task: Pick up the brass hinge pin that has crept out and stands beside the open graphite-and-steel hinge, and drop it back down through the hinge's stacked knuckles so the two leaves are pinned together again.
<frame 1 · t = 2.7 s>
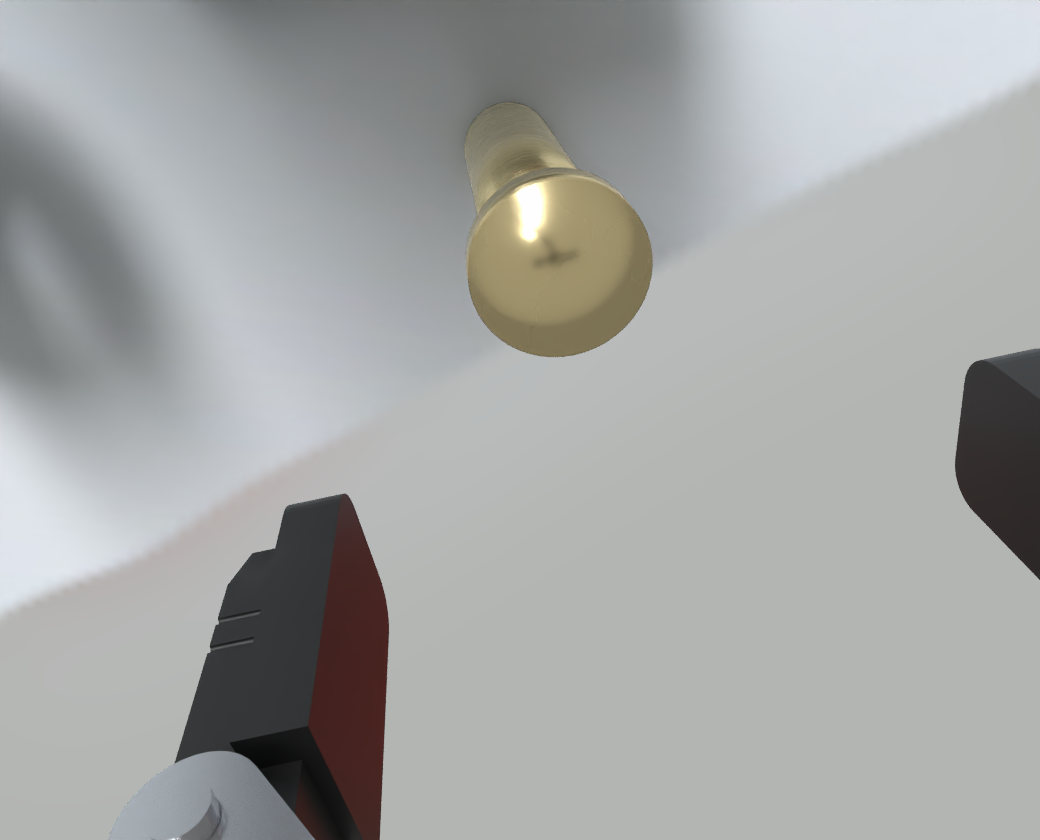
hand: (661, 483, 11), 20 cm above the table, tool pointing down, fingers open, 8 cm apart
pin: (508, 148, 28), on the table
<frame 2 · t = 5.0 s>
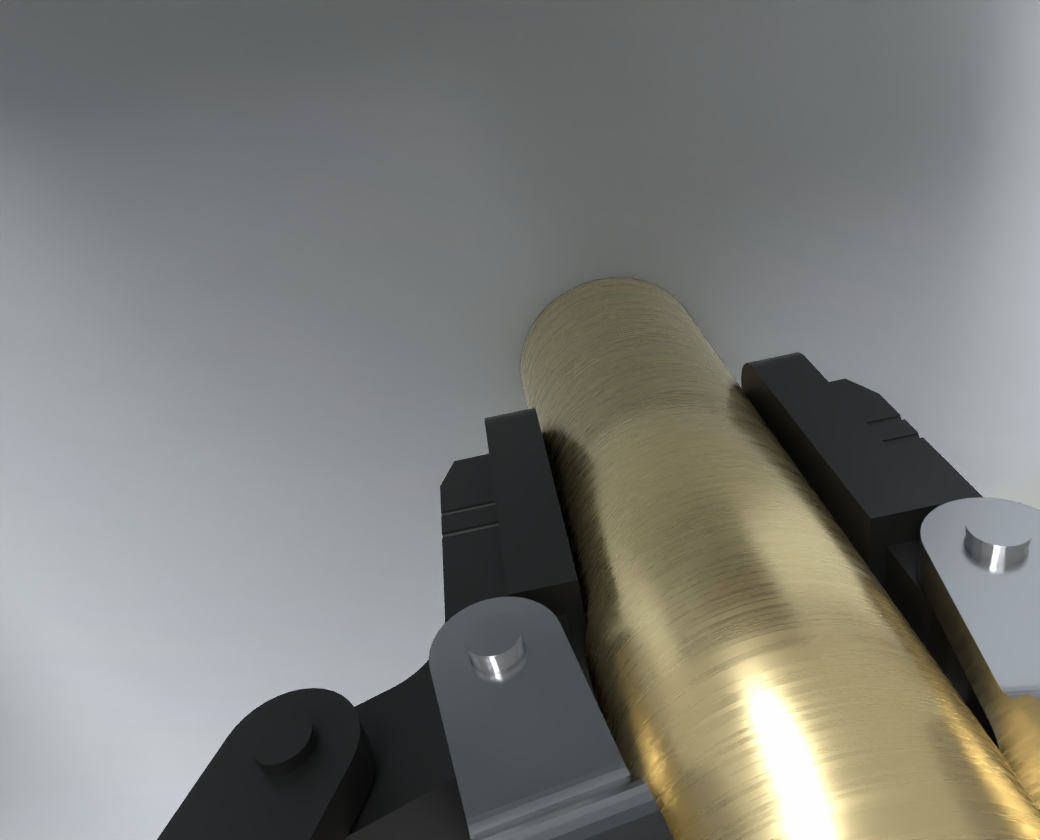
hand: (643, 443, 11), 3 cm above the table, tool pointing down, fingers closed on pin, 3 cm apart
pin: (609, 362, 14), on the table, touching gripper
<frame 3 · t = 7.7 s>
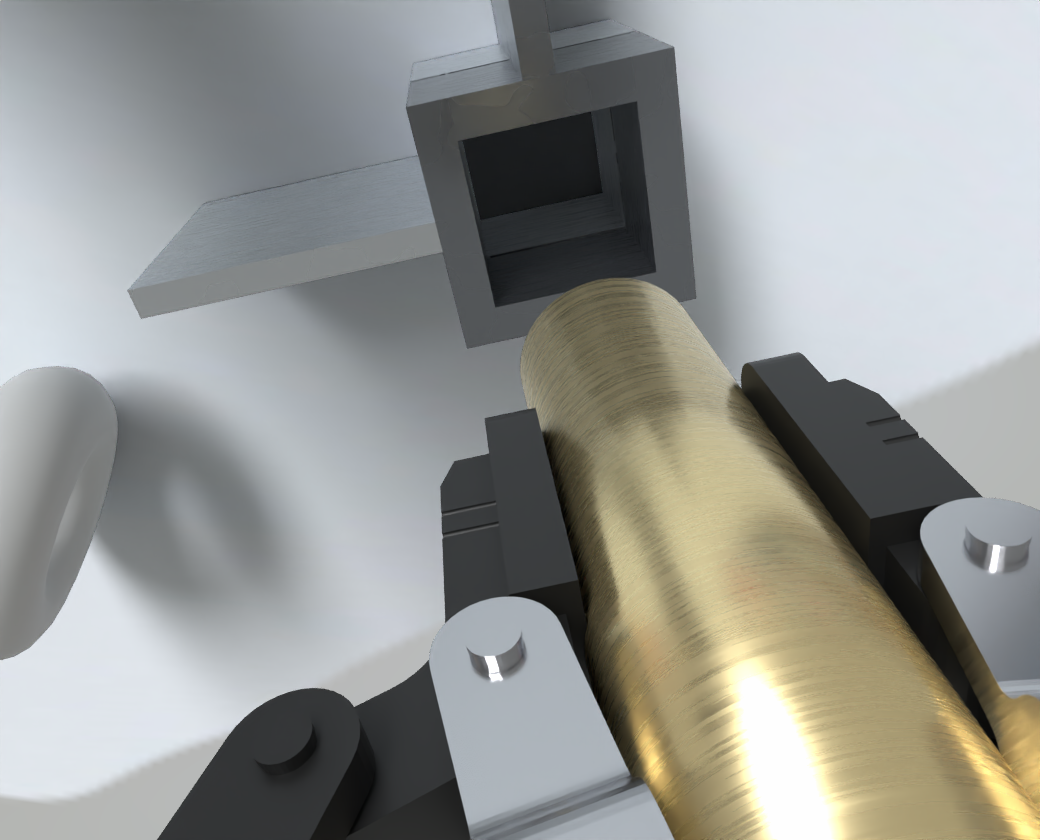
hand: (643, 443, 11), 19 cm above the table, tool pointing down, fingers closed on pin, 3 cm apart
donut: (84, 430, 32), on the table
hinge: (529, 143, 28), on the table
pin: (609, 363, 14), point 16 cm above the table, touching gripper
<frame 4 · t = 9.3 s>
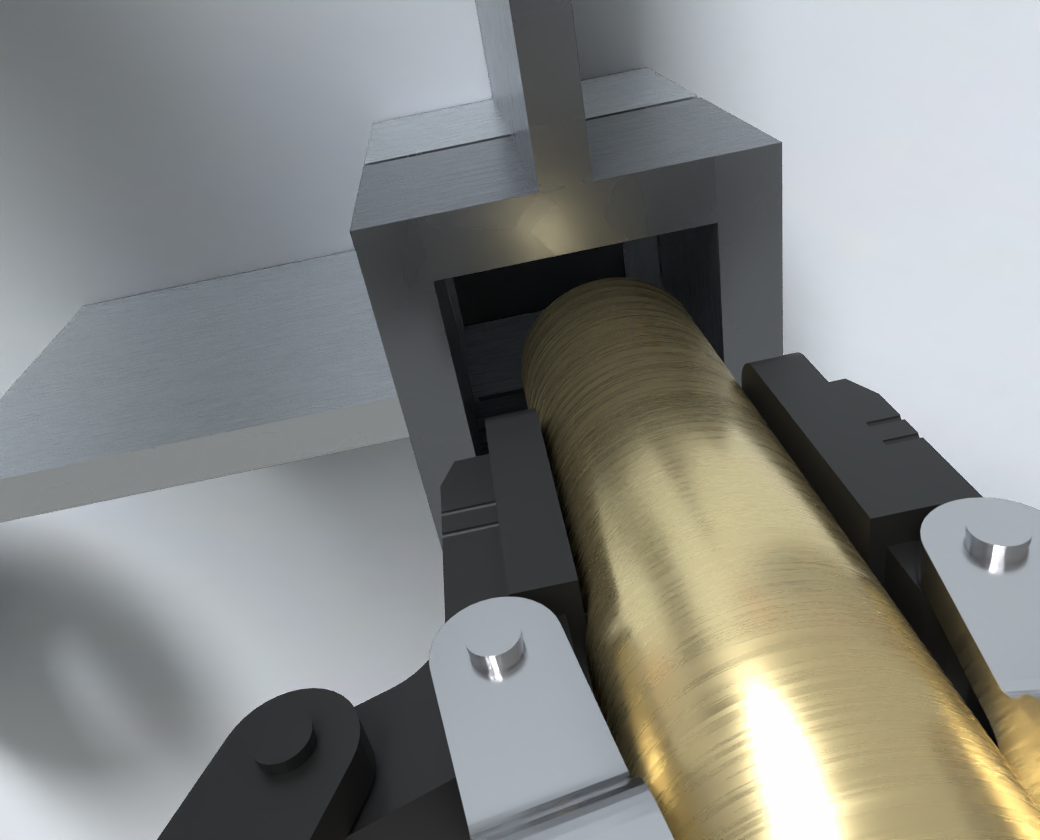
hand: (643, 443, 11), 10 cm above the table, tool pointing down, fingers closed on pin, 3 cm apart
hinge: (532, 229, 20), on the table
pin: (609, 362, 14), point 8 cm above the table, touching gripper
when the fingers open (9 cm above the table, at t = 10.3 s): pin drops 7 cm, resting in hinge.
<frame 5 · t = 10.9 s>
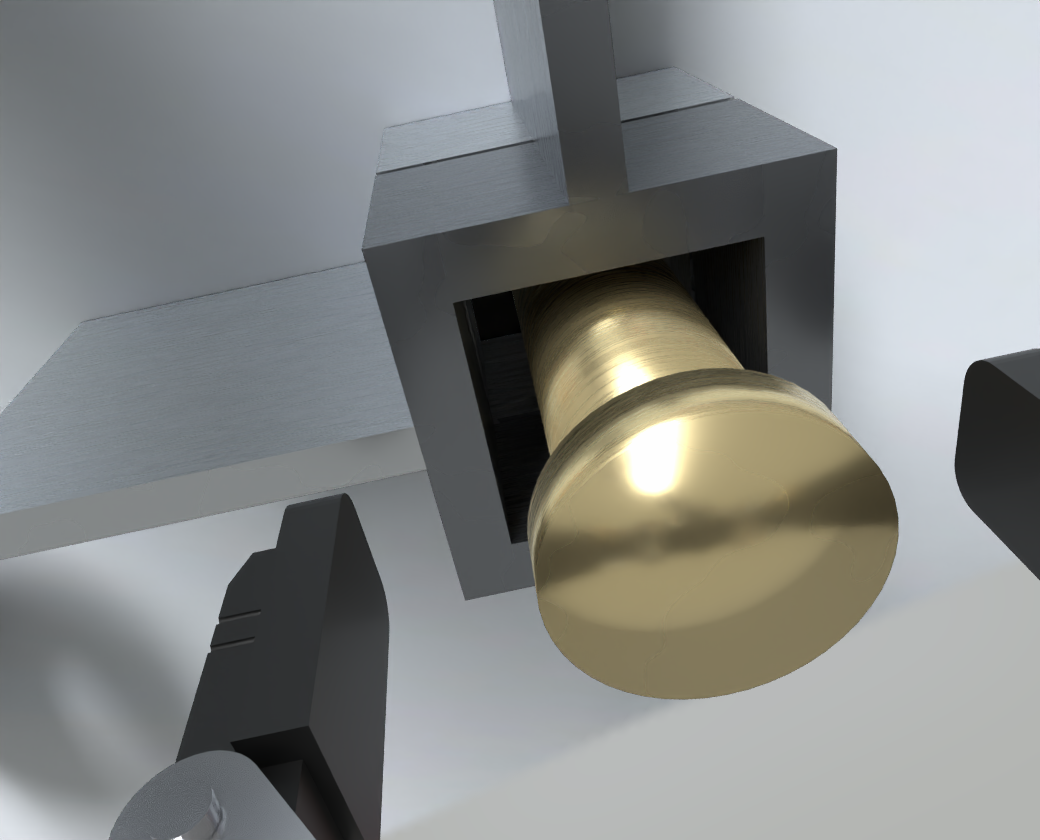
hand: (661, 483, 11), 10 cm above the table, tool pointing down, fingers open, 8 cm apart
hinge: (552, 238, 19), on the table
pin: (563, 234, 19), resting in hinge
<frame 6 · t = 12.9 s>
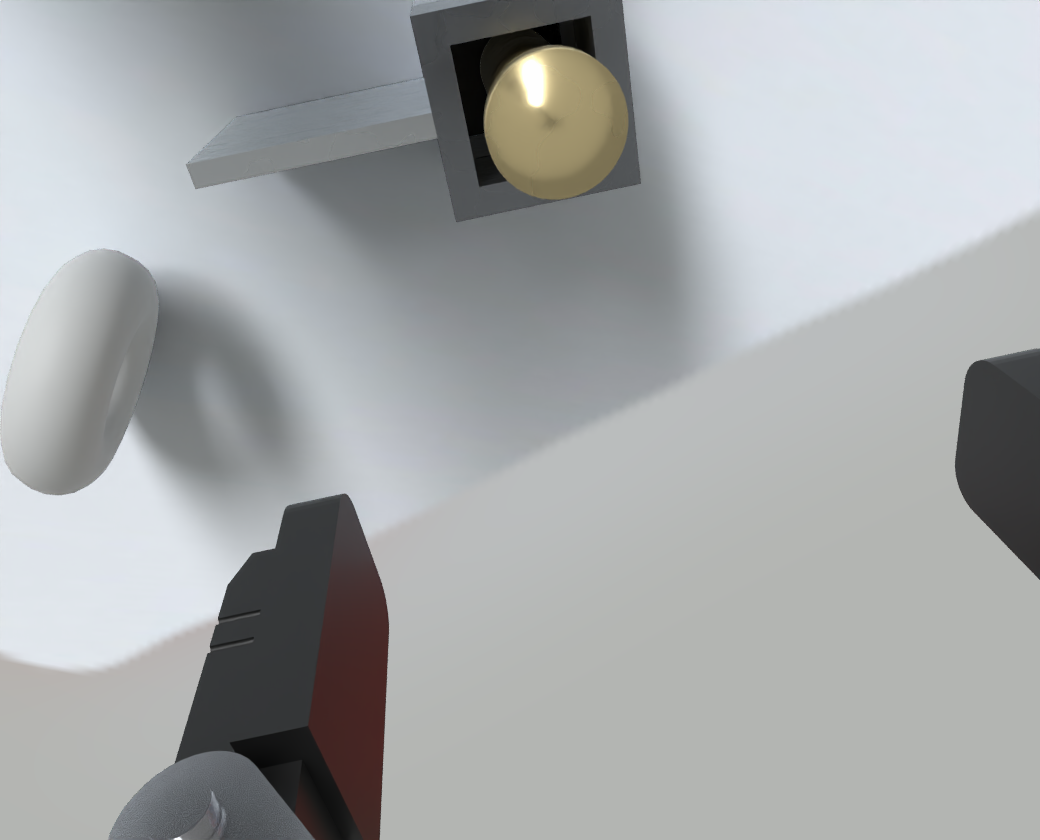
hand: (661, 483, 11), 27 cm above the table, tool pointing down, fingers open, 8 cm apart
donut: (127, 319, 37), on the table
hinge: (510, 70, 33), on the table
pin: (517, 67, 33), resting in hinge
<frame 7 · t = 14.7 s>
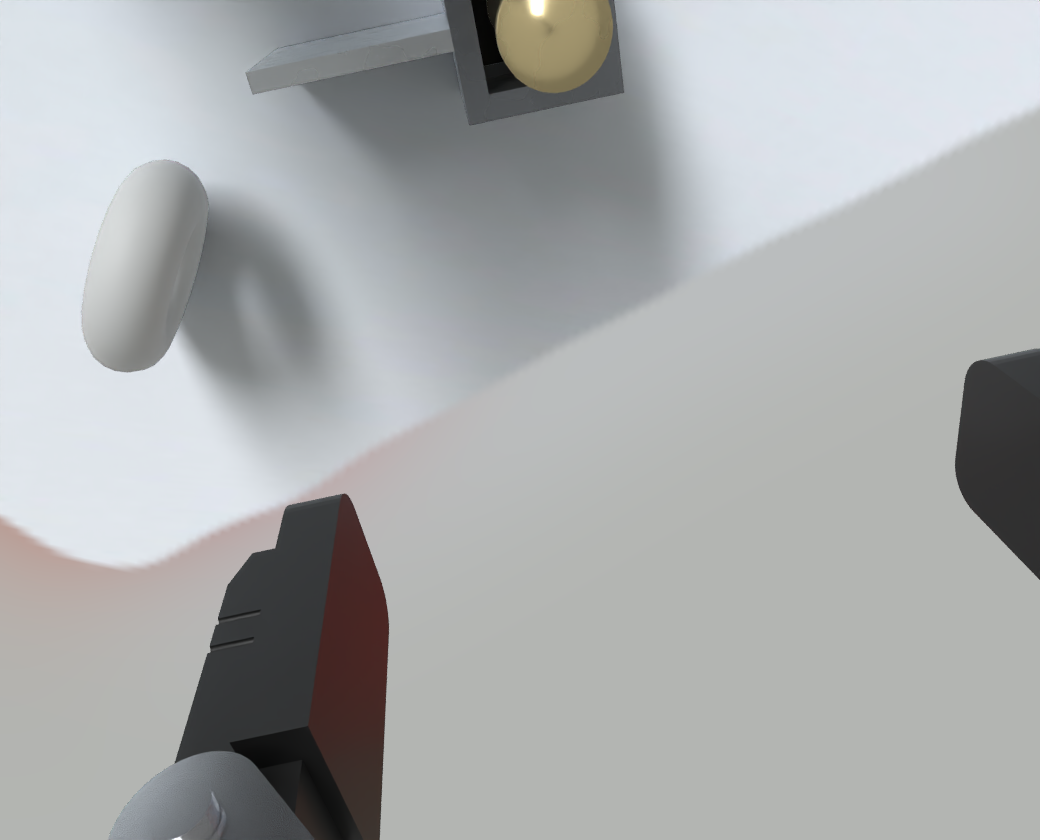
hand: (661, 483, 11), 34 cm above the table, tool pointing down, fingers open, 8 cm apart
donut: (177, 233, 42), on the table
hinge: (512, 7, 38), on the table
pin: (518, 5, 38), resting in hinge
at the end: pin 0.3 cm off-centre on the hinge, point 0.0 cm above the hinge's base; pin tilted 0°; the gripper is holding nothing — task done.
